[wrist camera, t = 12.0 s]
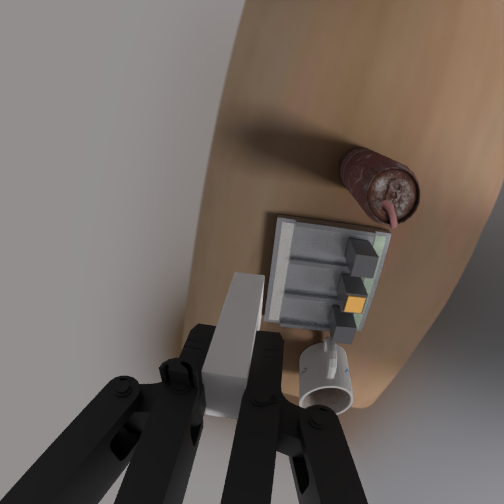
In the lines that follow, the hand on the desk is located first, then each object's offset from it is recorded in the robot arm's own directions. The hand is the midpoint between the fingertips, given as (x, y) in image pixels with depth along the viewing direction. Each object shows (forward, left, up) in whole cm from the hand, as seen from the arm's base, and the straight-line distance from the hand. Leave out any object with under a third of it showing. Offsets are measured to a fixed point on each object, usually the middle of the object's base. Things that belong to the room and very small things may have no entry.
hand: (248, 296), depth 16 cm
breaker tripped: (+13, +13, -25) cm, 31 cm away
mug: (+28, +13, -27) cm, 41 cm away
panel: (+13, +9, -27) cm, 31 cm away
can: (-3, +11, -27) cm, 30 cm away
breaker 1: (+18, +13, -25) cm, 33 cm away
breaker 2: (+7, +13, -25) cm, 29 cm away
